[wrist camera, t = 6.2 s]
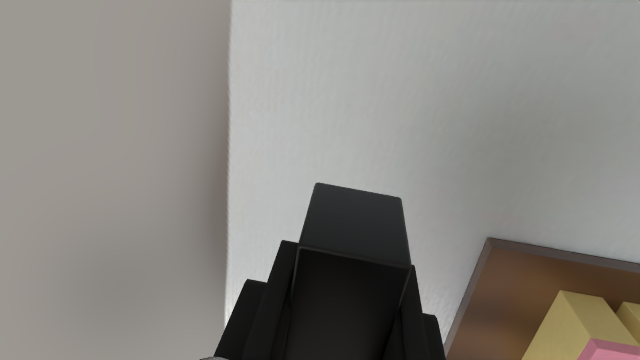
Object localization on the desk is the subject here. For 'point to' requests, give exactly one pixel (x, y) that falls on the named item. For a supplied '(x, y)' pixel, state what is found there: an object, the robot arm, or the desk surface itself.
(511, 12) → the desk surface
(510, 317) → the cake board
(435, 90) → the desk surface
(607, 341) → the cake slice
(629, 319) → the cake
